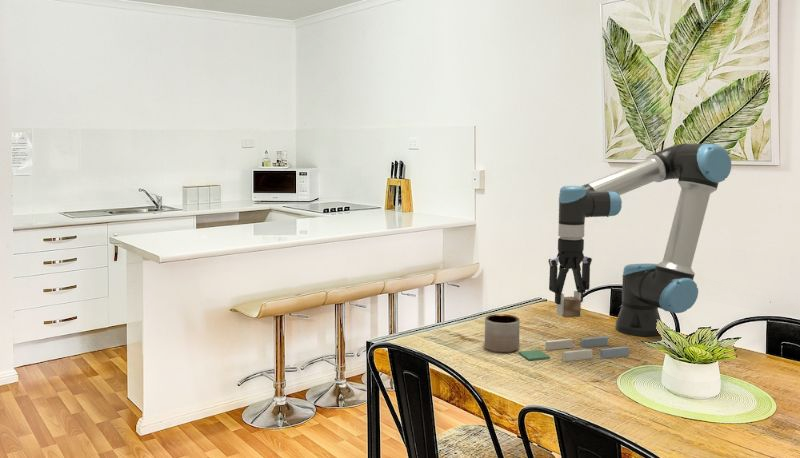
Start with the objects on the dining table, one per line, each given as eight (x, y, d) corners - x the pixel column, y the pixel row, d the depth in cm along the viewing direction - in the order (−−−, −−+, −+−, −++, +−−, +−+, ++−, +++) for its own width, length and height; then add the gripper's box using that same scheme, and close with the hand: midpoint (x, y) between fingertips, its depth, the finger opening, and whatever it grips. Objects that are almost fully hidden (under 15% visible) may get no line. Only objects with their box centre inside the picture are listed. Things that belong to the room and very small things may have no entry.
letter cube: (571, 312, 202) (572, 296, 201) (580, 316, 197) (580, 300, 196) (556, 313, 201) (557, 297, 200) (565, 317, 196) (566, 301, 195)
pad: (538, 351, 203) (538, 349, 203) (550, 358, 196) (550, 356, 196) (518, 353, 201) (518, 351, 201) (528, 360, 194) (528, 358, 194)
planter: (518, 354, 200) (519, 324, 199) (483, 352, 202) (483, 322, 201) (519, 343, 211) (520, 314, 209) (485, 341, 213) (486, 313, 211)
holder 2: (605, 344, 210) (606, 336, 210) (628, 355, 199) (628, 347, 198) (580, 346, 207) (581, 338, 207) (602, 358, 196) (602, 350, 196)
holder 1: (570, 346, 208) (571, 338, 207) (591, 358, 196) (592, 350, 196) (545, 349, 205) (545, 341, 205) (564, 361, 194) (565, 352, 193)
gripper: (590, 234, 202) (587, 308, 205) (537, 237, 197) (535, 312, 200) (604, 238, 195) (601, 314, 198) (550, 241, 190) (547, 319, 193)
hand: (568, 313), depth 199 cm, fingers closed on letter cube, 5 cm apart
